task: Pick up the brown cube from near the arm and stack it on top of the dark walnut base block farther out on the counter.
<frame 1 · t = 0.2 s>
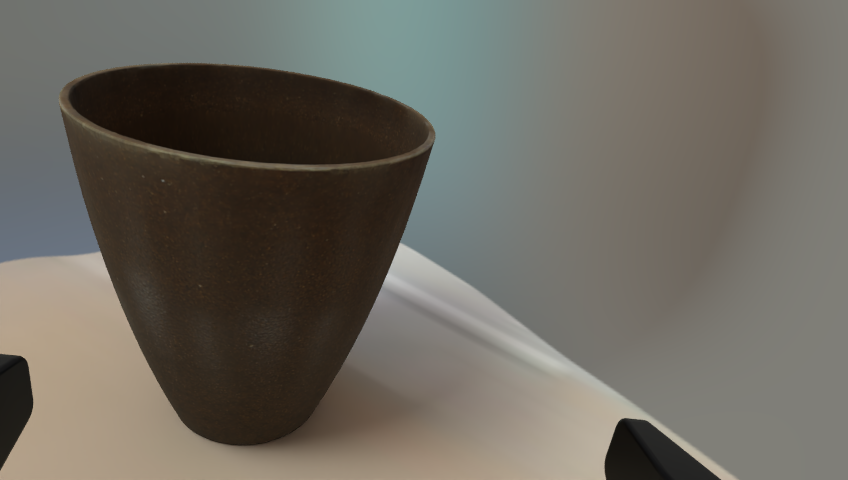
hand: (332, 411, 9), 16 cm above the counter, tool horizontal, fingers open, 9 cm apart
plant pot: (244, 398, 33), on the counter
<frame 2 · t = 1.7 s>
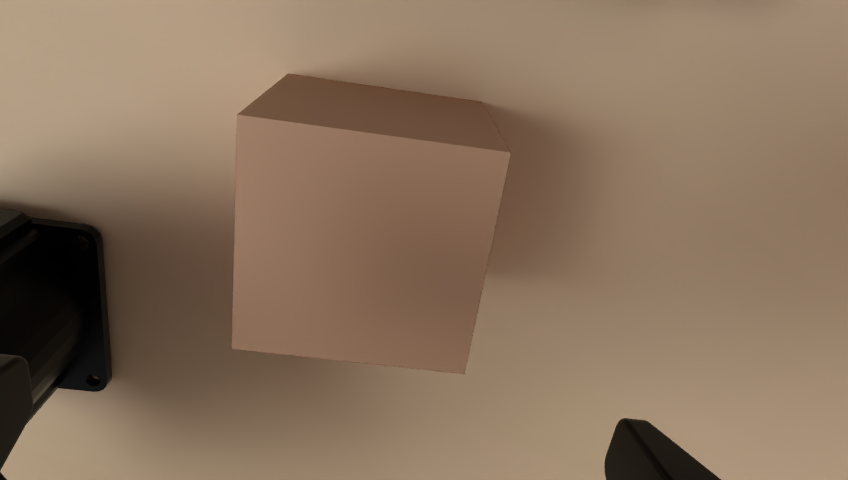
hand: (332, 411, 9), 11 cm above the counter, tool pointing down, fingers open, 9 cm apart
brown cube: (375, 179, 20), on the counter
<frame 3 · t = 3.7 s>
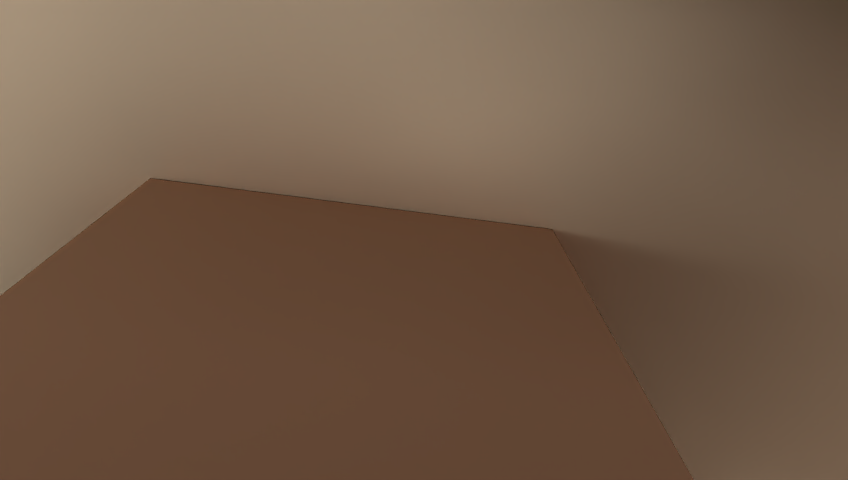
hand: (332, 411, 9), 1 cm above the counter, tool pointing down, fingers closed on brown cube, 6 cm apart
brown cube: (338, 370, 10), on the counter, touching gripper
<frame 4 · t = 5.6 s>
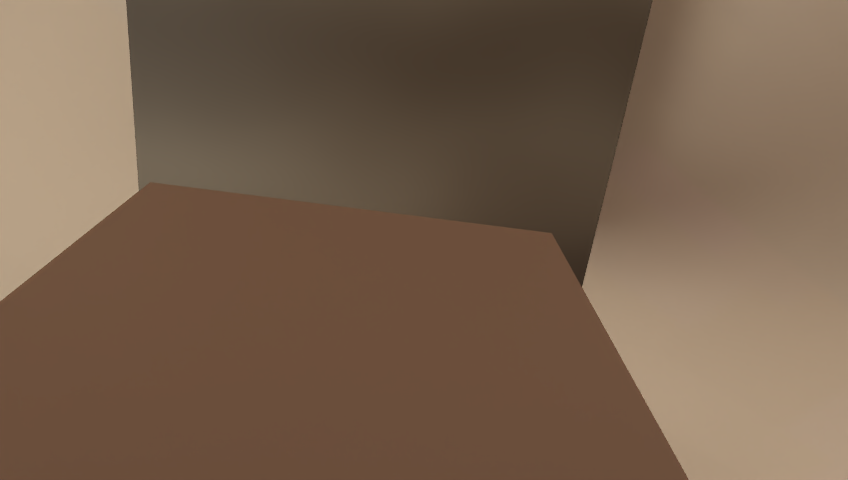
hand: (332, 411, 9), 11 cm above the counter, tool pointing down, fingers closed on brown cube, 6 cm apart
brown cube: (338, 373, 10), point 10 cm above the counter, touching gripper
walnut base: (391, 35, 18), on the counter
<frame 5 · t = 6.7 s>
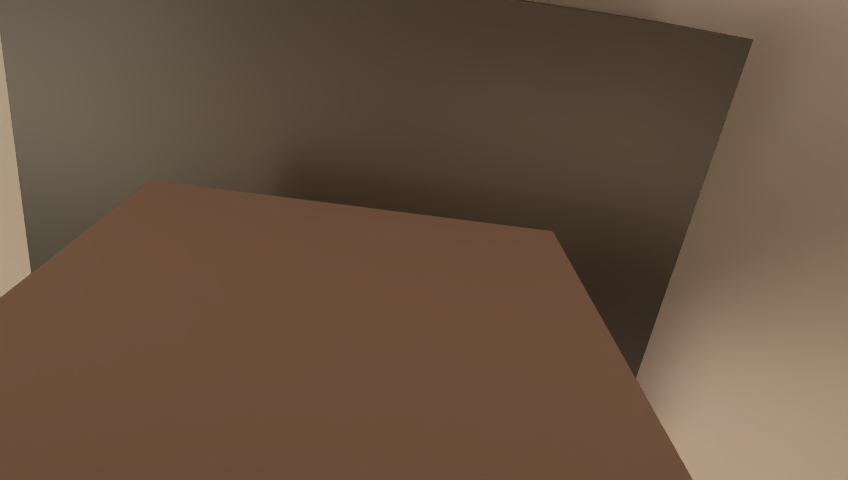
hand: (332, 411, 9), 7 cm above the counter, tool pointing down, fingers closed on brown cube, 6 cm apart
brown cube: (338, 371, 10), point 6 cm above the counter, touching gripper
walnut base: (365, 232, 15), on the counter
when the fingers open (6 cm above the counter, at t = 7.6 s): brown cube drops 1 cm, resting on walnut base.
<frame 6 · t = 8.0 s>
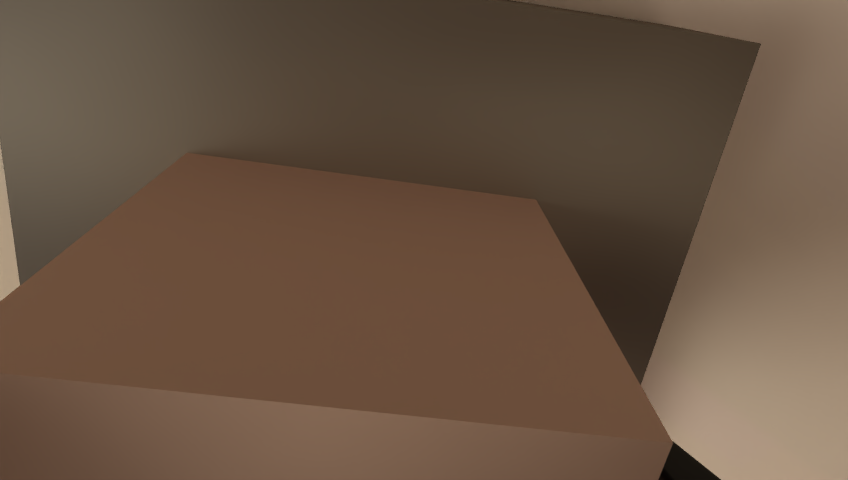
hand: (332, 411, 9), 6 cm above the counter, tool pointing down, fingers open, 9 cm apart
brown cube: (348, 325, 12), point 4 cm above the counter, touching walnut base
walnut base: (363, 238, 15), on the counter
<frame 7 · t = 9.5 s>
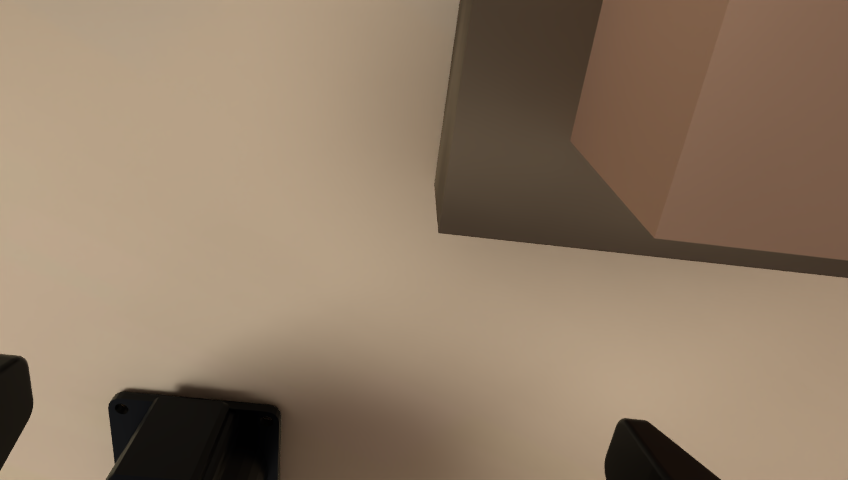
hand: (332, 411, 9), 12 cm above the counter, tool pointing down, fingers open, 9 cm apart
brown cube: (721, 34, 14), point 4 cm above the counter, touching walnut base
walnut base: (660, 17, 18), on the counter
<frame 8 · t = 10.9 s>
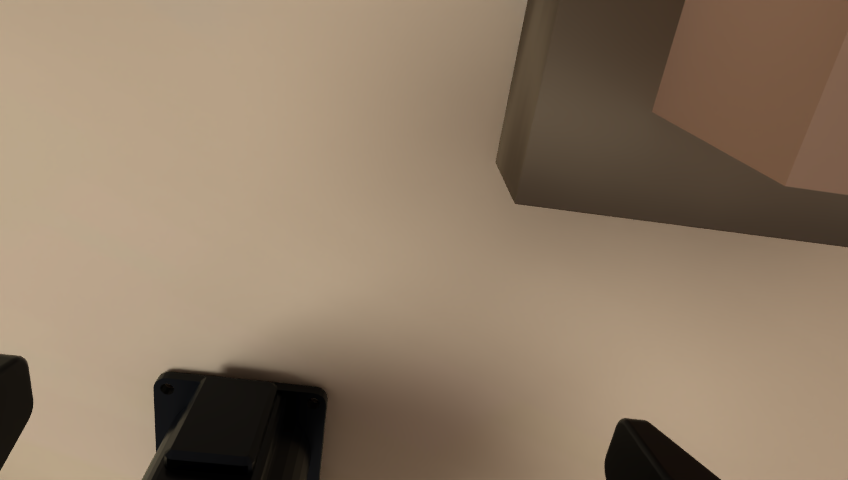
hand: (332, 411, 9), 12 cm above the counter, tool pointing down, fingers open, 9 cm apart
brown cube: (807, 6, 15), point 4 cm above the counter, touching walnut base
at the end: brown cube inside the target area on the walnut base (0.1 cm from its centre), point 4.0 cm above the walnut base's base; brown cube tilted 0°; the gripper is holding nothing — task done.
